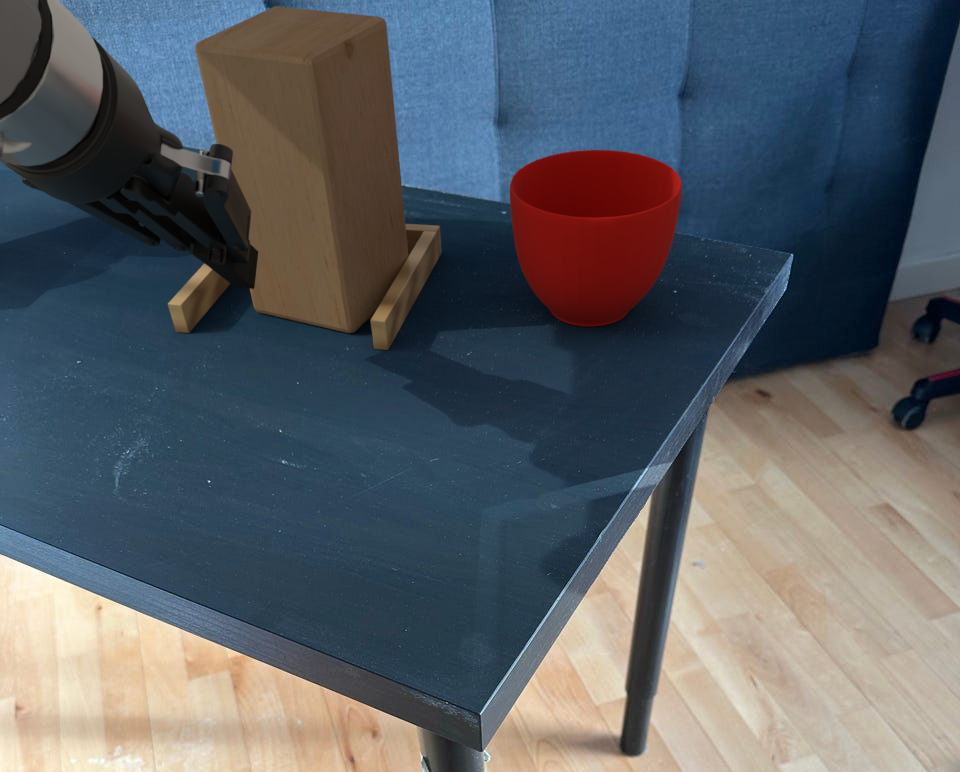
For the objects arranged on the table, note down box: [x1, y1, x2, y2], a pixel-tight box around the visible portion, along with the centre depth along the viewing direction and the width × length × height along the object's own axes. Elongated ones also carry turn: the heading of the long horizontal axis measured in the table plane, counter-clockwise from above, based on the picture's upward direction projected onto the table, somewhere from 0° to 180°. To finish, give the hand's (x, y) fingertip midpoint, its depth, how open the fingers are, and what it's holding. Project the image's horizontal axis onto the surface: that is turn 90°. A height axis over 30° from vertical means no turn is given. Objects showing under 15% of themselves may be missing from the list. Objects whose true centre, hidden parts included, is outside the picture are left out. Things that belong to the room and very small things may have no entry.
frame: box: [167, 223, 443, 351], centre depth 80 cm, size 17×18×2 cm
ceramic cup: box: [509, 149, 683, 327], centre depth 75 cm, size 13×17×10 cm
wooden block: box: [194, 5, 408, 334], centre depth 73 cm, size 10×10×20 cm
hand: (246, 269), depth 68 cm, fingers closed
